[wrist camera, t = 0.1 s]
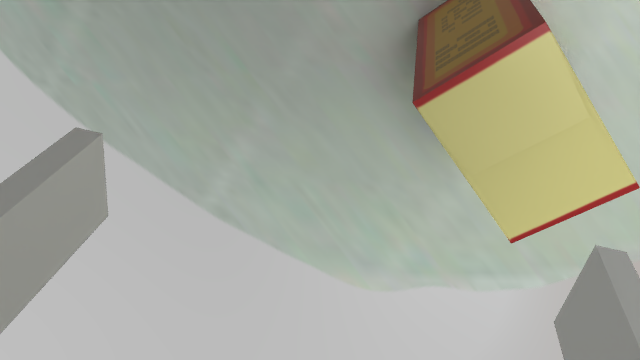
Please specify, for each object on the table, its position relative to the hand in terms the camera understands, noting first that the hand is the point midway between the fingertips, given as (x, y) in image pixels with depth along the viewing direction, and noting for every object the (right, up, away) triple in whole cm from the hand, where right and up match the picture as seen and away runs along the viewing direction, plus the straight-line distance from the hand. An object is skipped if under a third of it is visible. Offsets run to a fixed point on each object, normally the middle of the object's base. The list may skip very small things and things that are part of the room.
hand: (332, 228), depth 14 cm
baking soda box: (+12, +11, +24) cm, 29 cm away
